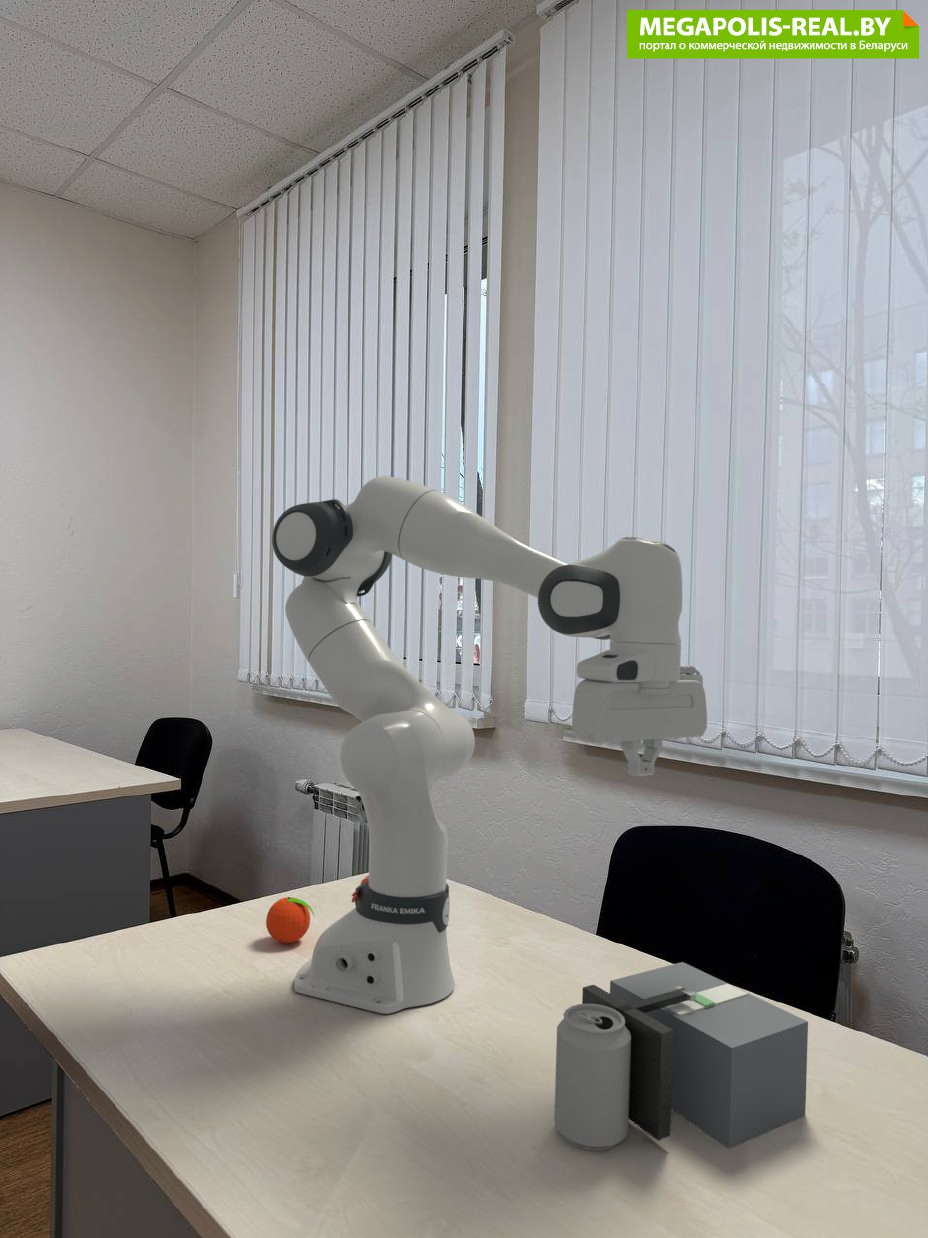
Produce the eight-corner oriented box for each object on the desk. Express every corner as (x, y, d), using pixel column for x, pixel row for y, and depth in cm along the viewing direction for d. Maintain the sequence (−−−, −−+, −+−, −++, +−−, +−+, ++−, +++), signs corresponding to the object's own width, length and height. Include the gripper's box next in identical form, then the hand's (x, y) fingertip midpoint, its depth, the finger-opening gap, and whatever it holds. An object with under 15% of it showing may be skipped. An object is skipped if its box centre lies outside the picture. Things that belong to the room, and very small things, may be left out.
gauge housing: (729, 1148, 84) (732, 1044, 85) (607, 1065, 100) (610, 977, 100) (805, 1115, 91) (808, 1018, 91) (680, 1042, 106) (682, 958, 106)
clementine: (322, 938, 137) (324, 893, 137) (304, 953, 130) (306, 907, 130) (277, 931, 139) (279, 888, 139) (257, 947, 132) (258, 901, 132)
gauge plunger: (658, 1140, 83) (661, 1034, 83) (579, 1082, 94) (582, 987, 94) (727, 1112, 89) (730, 1012, 89) (646, 1060, 99) (648, 970, 99)
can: (626, 1161, 82) (630, 1037, 82) (549, 1149, 84) (553, 1026, 84) (629, 1118, 89) (632, 1004, 89) (558, 1107, 91) (561, 995, 91)
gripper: (684, 664, 115) (680, 766, 115) (566, 664, 105) (562, 776, 104) (720, 667, 110) (717, 773, 110) (600, 667, 99) (596, 785, 99)
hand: (640, 775), depth 107 cm, fingers closed
